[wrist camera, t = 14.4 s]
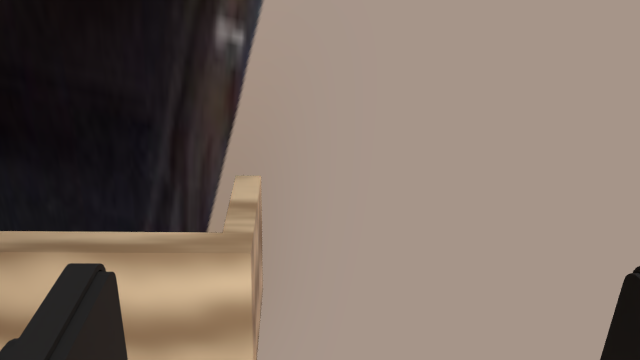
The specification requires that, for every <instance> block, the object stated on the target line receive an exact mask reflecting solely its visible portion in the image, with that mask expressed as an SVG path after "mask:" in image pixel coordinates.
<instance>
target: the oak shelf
mask: <svg viewBox="0 0 640 360" xmlns="http://www.w3.org/2000/svg"><path fill="white" fill-rule="evenodd" d="M261 211H262V207H261V176H235V181H234V185H233V189H232V194H231V198H230V202H229V207H228V211H227V215H226V219H225V224H224V229H223V232H222V233H199V232H48V231H0V351H1V349H2V348H3V347H4V346H5V345H6V343H7V342H8V341H10V340H12V339H14V338H19V337H20V335H21V334H22V332H23V331H24V329H25V328H26V326H27V325H28V323H29V322H30V320H31V319H32V317H33V316H34V314H35V313H36V311H37V309H38V308H39V306H40V305H41V303H42V302H43V300H44V299H45V297H46V296H47V294H48V293H49V291H50V290H51V288H52V287H53V285H54V283H55V282H56V280H57V279H58V277H59V276H60V274H61V273H62V271H63V270H64V268H65V267H66V266H67V265H68V264H70V263H101V264H103V265H104V267H105V269H106V272H114V273H115V275H116V279H117V286H118V293H119V300H120V307H121V314H122V322H123V329H124V336H125V343H126V350H127V357H128V360H257V350H258V339H259V327H260V316H261V305H262V292H263V277H262V212H261Z"/></svg>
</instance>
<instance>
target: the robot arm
mask: <svg viewBox="0 0 640 360" xmlns="http://www.w3.org/2000/svg"><path fill="white" fill-rule="evenodd" d="M0 360H128V357H127V350H126V343H125V336H124V329H123V322H122V314H121V307H120V300H119V293H118V286H117V279H116V275H115V273H114V272H106V269H105V267H104V265H103V264H101V263H70V264H68V265H67V266H66V267H65V268H64V270H63V271H62V273H61V274H60V276H59V277H58V279H57V280H56V282H55V283H54V285H53V287H52V288H51V290H50V291H49V293H48V294H47V296H46V297H45V299H44V300H43V302H42V303H41V305H40V306H39V308H38V309H37V311H36V313H35V314H34V316H33V317H32V319H31V320H30V322H29V323H28V325H27V326H26V328H25V329H24V331H23V332H22V334H21V335H20V337H19V338H14V339H12V340H10V341H8V342H7V343H6V345H5V346H4V347H3V348H2V349H1V351H0ZM600 360H640V266H639V267H637V268H636V269H635V270H634V271H633V273H631V274H628V275H627V276H626V277H625V279H624V282H623V285H622V288H621V292H620V295H619V298H618V302H617V305H616V309H615V312H614V315H613V319H612V322H611V325H610V329H609V332H608V335H607V339H606V342H605V345H604V349H603V352H602V356H601V359H600Z"/></svg>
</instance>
